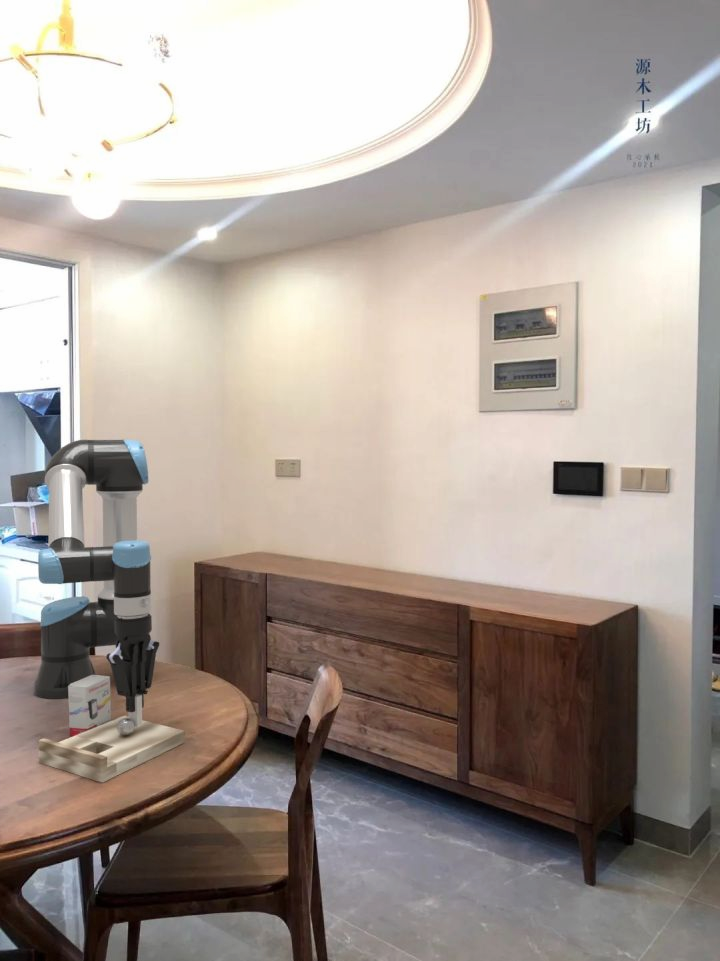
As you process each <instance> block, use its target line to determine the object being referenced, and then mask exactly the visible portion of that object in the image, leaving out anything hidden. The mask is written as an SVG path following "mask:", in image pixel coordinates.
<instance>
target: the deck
mask: <svg viewBox="0 0 720 961" xmlns="http://www.w3.org/2000/svg"><path fill="white" fill-rule="evenodd" d="M123 718H128V715H127V716H126V715H123V716H120V717H118V718H115V719H111V721H110V722H107V723H105V724H103V725H100V726H98V727H95V728H93V729H90V730H88V731H85V732H83V733H80V734H78V735H75V736H73V737H70V736H69V737H68V738H66V739H63V740H61V741H59V742H58V741H54V740H51V739H48V738H41V739H39V740H38V762H39V763H40V764H43V765H46V766H49V767H51V768H56V769H58V770H61V771H65V772H68V773H71V774H73V775H77V776H80V777H84V778H87V779H90V780H92V781H95V782H99V783H105V782H107V781H109V780H111V779H113V778H115V777H117V776H118V775H121V774H123V773H125V772H127V771H129V770H131V769H133V768H135V767H137V766H140V765H141V764H144V763H145V762H149V760H151V759H154V758H155V757H158V756H160V755H162V754H165V753H166V752H168V751H170V750H172V749H174V748H176V747H178V746H180V745H182V744H185V742H186V739H185V736H186V735H185V732H186V731H185V730H182V729H178V728H174V727H171V726H167V725H162V724H159V723H155V722H151V721H146V720H143V719H142V726H140V727H135V728H134V731H133V732H132V733H131V734H130V735H128V736H122V735H120V734H119V733H118V731H117V724H118V722H119V721H120V720H121V719H123Z"/></svg>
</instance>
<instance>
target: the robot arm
mask: <svg viewBox="0 0 720 961" xmlns="http://www.w3.org/2000/svg"><path fill="white" fill-rule="evenodd" d="M44 484H45V487H46V488H47V489H48V544H47V545H48V548H44V549H40V550H39V551H38V555H37V556H38V558H37V560H38V561H37V562H38V563H37V567H38V569H37V570H38V571H37V572H38V580H39V582H40V583H41V584H43V585H45V584H47V585H51V584H52V585H55V584H57V585H62V584H74V583H87V582H103V588H102V589H101V591H100V592H99V593H98V594H97V601H93V602H92V601H91V602H90V599H89V597H87V596H73V597H66V598H62V599H57V600H54V601H51V602H49V603H46V605H44V606H43V607H42V609H41V610H40V611H41V612H40V622H39V626H40V638H41V639H40V653H41V654H40V656H41V657H40V658H41V663H40V665H39V669H38V672H37V675H36V679H35V682H34V687H33V688H34V690H33V692H34V695H35V696H37V697H40V698H44V699H66V698H68V699H69V697H68V686H69V685H70V684H71V683H74V682H76V681H79V680H81V679H83V678H86V677H88V676H90V675H97V674H96V672H95V668H94V666H93V663H92V661H91V658H90V648H97V647H98V648H99V647H108V646H115V649H114V650H113V651H112V652H111V653H107V654H106V660H107V661H108V663H109V664H110V667H111V672H112V676H113V681H114V684H115V689H116V694H117V695H118V696H122V697H125V710H126V712H127V717H128V718H130V719H132V720H133V721H134V724H135V727H140V726H142V720H143V708H144V704H145V701H144V700H145V698H144V697H145V696H144V695H147V694H148V690H147V689H150V688H151V687H152V683H153V676H154V669H155V662H156V657H157V651H158V650H159V646H160V642H159V641H156V640H152V637H151V634H150V633H151V632H152V629H153V628H152V627H153V626H152V625H153V624H152V622H153V621H152V620H153V619H152V615H151V614H150V613H151V611H152V592H151V591H152V590H151V560H152V555H151V549H150V543H149V542H147V541H145V540H138V507H137V506H138V504H137V502H138V500H137V498H138V496H139V495H140V494H141V493H142V492H143V485H147V484H149V470H148V462H147V457H146V452H145V448H144V446H143V443H141V442H140V441H138V440H132V439H77V440H74V441H71V442H69V443H67V444H66V445H64V446H62V447H61V448H59V450H57V451H56V452H55V453H54V454H53V455H52V457H51V458H50V460H49V461H48V463H47V464H46V468H45V471H44ZM86 485H87V486H90V485H93V486H95V489H96V493H97V494H98V495H99V496H100V497H101V498H102V545H103V546H89V547H88V546H85V527H84V526H85V525H84V524H85V523H84V499H83V495H84V494H83V489H84V488H85V486H86Z"/></svg>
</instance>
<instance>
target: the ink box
mask: <svg viewBox="0 0 720 961" xmlns="http://www.w3.org/2000/svg"><path fill="white" fill-rule="evenodd" d="M111 704H112V701H111V676H107V675H98V674H96V675H90V676H88V677H86V678H83V679H81V680H79V681H76V682H74V683H71V684H70V685H69V686H68V723H69V725H68V726H69V727H68V728H69V738H70V737H73V736H75V735H78V734H80V733H83V732H85V731H88V730H90V729H93V728H95V727H98V726H100V725H103V724H105V723H107V722H110V721H112V710H111V708H112V705H111Z"/></svg>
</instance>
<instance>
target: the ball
mask: <svg viewBox="0 0 720 961" xmlns="http://www.w3.org/2000/svg"><path fill="white" fill-rule="evenodd" d="M134 728H135V724H134V721H133V720H132V719H130V718H123V719H121V720H120V721H119V722H118V724H117V731H118V733H119V734H120V735H122V736H128V735H130V734H131V733H132V732H133V731H134Z"/></svg>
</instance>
